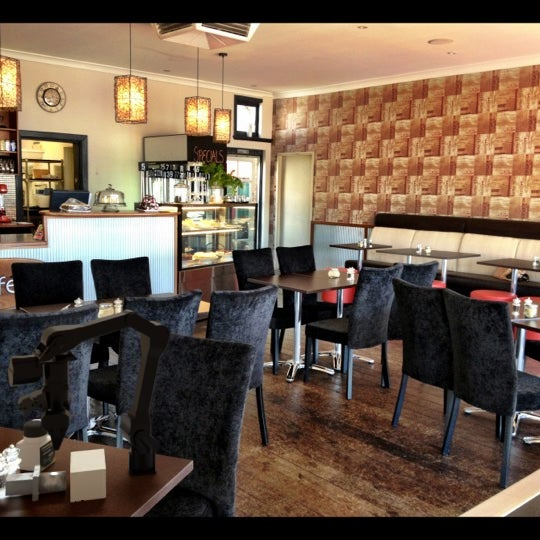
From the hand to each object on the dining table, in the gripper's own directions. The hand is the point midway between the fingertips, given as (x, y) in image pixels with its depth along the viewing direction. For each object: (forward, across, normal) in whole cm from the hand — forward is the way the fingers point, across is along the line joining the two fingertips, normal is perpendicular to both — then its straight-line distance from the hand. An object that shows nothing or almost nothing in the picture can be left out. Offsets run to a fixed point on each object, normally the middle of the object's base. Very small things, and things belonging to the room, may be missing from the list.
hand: (57, 442), depth 140 cm
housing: (+12, +1, +7) cm, 14 cm away
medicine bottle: (+12, -16, -6) cm, 21 cm away
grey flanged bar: (+12, +1, -5) cm, 13 cm away
